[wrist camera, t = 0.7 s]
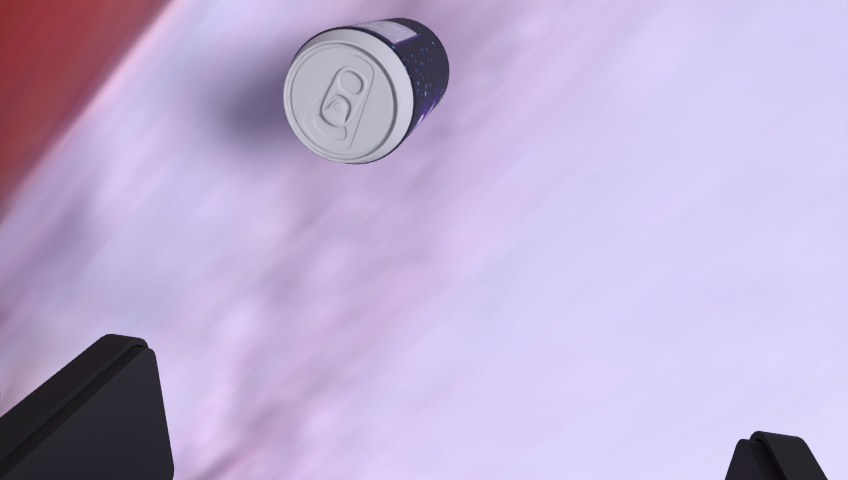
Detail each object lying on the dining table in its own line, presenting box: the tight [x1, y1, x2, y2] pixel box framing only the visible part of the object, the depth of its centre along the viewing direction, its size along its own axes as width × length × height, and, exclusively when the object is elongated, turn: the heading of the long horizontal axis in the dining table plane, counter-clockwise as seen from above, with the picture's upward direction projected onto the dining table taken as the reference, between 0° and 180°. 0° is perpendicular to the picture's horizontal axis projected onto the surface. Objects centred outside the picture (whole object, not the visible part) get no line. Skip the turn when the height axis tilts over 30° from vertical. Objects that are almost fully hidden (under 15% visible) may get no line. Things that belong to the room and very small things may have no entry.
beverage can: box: [283, 18, 449, 164], centre depth 29 cm, size 6×6×12 cm
